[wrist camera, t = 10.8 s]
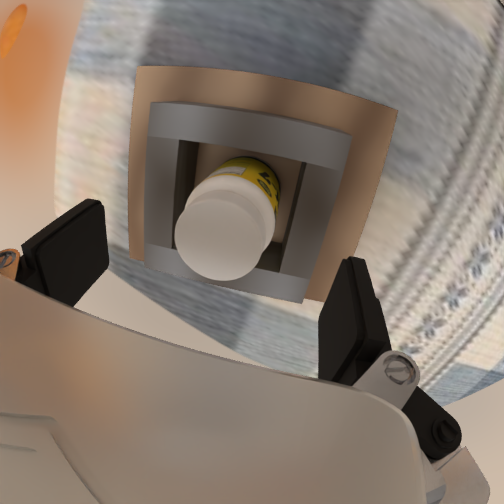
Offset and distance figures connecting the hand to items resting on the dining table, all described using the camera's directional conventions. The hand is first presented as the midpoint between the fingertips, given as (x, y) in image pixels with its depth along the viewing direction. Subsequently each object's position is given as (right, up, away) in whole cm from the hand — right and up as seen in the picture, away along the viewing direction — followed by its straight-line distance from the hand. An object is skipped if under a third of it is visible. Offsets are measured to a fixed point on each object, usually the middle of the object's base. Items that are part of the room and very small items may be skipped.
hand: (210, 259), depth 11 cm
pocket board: (+1, +5, +10) cm, 11 cm away
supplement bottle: (+1, +5, +9) cm, 11 cm away
